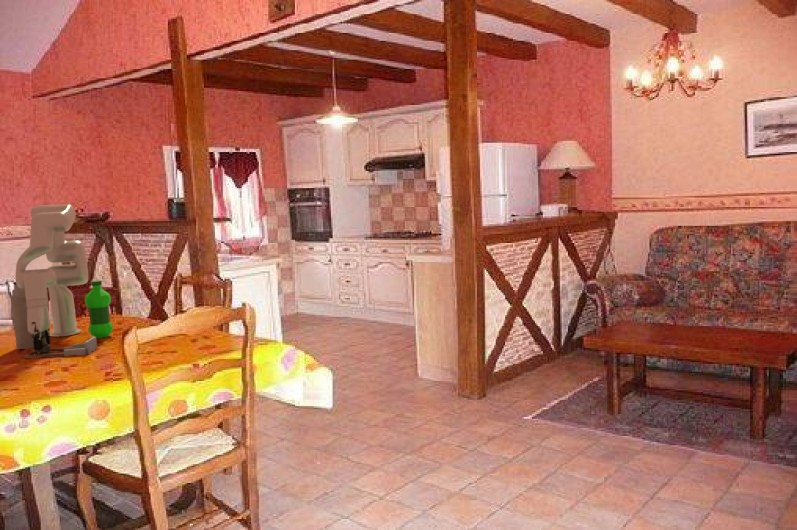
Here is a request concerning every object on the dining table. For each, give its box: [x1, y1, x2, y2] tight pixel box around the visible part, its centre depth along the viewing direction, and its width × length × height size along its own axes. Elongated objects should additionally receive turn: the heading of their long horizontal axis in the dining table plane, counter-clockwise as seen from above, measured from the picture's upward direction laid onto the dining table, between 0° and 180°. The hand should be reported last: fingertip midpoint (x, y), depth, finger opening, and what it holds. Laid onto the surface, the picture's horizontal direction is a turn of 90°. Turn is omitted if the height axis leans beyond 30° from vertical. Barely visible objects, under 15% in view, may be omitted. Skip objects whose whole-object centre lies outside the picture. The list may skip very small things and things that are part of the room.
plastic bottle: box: [84, 279, 114, 339], centre depth 288 cm, size 10×10×25 cm
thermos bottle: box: [10, 281, 37, 350], centre depth 273 cm, size 8×8×28 cm
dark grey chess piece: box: [36, 331, 51, 354], centre depth 260 cm, size 6×6×12 cm
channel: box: [23, 346, 73, 360], centre depth 261 cm, size 10×15×1 cm, turn 96°
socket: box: [63, 336, 98, 357], centre depth 261 cm, size 10×9×5 cm
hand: (42, 347), depth 260 cm, fingers closed on dark grey chess piece, 5 cm apart
